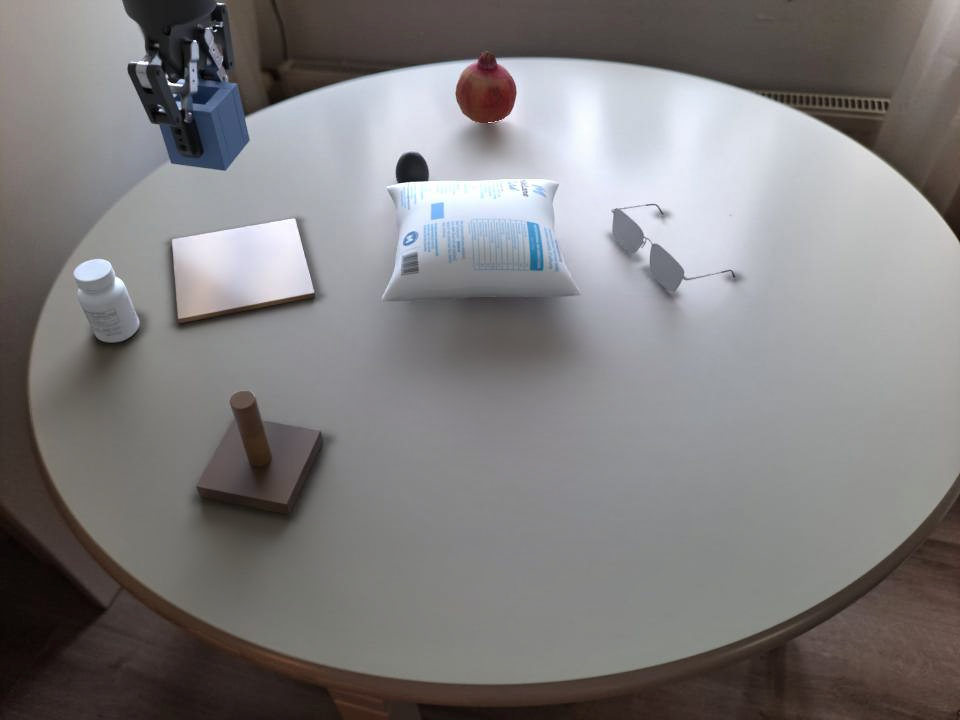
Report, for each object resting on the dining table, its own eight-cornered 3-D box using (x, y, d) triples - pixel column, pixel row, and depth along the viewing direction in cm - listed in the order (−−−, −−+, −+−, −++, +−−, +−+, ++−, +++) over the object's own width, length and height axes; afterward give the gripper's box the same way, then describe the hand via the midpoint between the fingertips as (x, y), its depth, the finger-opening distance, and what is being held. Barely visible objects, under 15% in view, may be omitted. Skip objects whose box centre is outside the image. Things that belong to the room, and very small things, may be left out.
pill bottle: (116, 309, 84) (91, 250, 78) (149, 322, 83) (126, 263, 77) (85, 335, 81) (57, 276, 76) (118, 349, 80) (92, 290, 74)
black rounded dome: (391, 182, 101) (388, 147, 97) (421, 174, 102) (419, 139, 98) (404, 199, 98) (401, 164, 95) (434, 191, 99) (433, 155, 96)
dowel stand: (200, 497, 68) (171, 429, 61) (239, 425, 73) (217, 356, 67) (289, 514, 67) (270, 447, 60) (323, 440, 72) (308, 371, 66)
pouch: (376, 267, 77) (584, 255, 77) (382, 163, 91) (559, 153, 91) (385, 329, 82) (580, 317, 83) (390, 222, 96) (557, 213, 96)
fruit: (499, 102, 115) (500, 33, 108) (525, 129, 110) (528, 58, 103) (447, 114, 113) (445, 44, 105) (471, 142, 107) (471, 71, 100)
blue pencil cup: (170, 163, 76) (152, 105, 72) (197, 133, 80) (182, 76, 76) (225, 171, 76) (210, 112, 71) (250, 140, 79) (237, 83, 75)
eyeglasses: (605, 230, 94) (612, 201, 91) (660, 217, 97) (668, 188, 94) (678, 301, 85) (688, 271, 83) (736, 284, 88) (747, 254, 86)
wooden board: (179, 323, 83) (177, 319, 82) (172, 243, 92) (171, 239, 91) (315, 297, 86) (314, 292, 85) (295, 221, 95) (295, 217, 94)
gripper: (158, -82, 70) (204, 98, 82) (64, -20, 60) (132, 174, 73) (238, -75, 69) (273, 106, 81) (156, -11, 59) (210, 185, 71)
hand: (207, 137), depth 77 cm, fingers closed on blue pencil cup, 5 cm apart
